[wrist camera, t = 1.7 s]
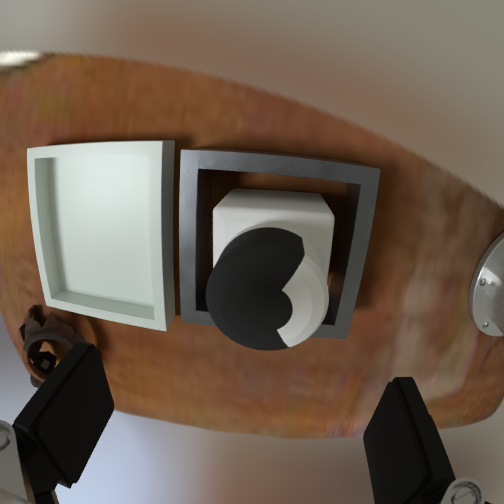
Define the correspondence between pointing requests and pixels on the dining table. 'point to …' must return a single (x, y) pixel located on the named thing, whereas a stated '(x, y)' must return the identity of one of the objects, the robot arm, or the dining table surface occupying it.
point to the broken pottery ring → (33, 339)
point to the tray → (105, 228)
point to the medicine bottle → (270, 266)
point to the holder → (354, 173)
